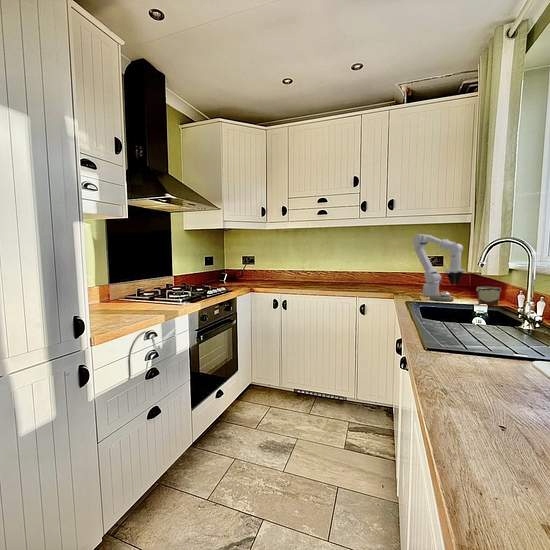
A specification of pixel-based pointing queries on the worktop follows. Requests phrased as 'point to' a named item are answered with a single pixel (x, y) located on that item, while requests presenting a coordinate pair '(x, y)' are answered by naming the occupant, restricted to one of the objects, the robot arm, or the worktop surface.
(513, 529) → the worktop surface
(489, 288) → the food container
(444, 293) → the cover
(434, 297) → the turntable
